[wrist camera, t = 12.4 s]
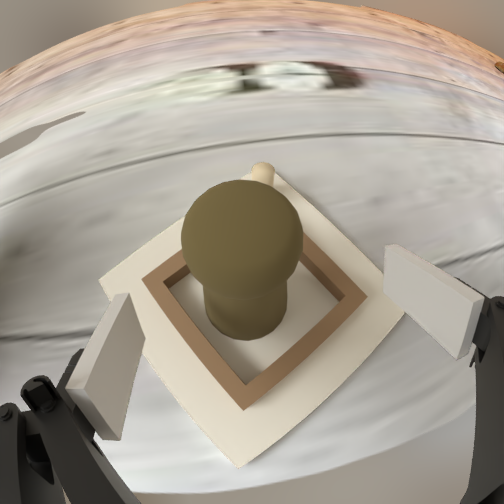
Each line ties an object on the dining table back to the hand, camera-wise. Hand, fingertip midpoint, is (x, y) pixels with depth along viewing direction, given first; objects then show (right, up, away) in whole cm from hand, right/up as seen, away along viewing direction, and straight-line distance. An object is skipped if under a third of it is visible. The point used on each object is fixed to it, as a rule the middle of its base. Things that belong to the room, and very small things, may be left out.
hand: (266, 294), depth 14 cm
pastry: (+91, +68, +42) cm, 122 cm away
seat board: (-1, -2, +8) cm, 8 cm away
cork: (-1, -1, +7) cm, 7 cm away
